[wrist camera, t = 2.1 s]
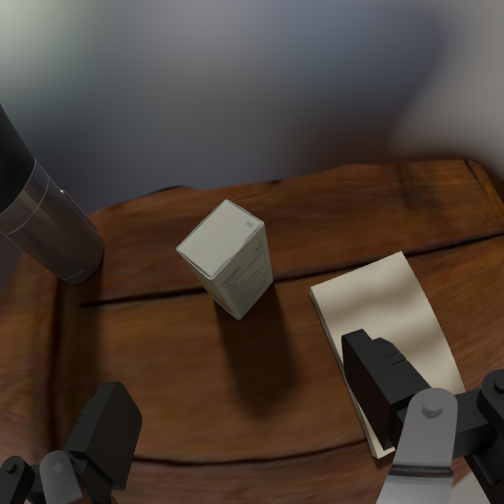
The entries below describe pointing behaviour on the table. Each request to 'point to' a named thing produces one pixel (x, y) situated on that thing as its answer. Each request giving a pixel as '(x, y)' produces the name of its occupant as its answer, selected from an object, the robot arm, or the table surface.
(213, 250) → the skincare box
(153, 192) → the table surface
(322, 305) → the birch board
